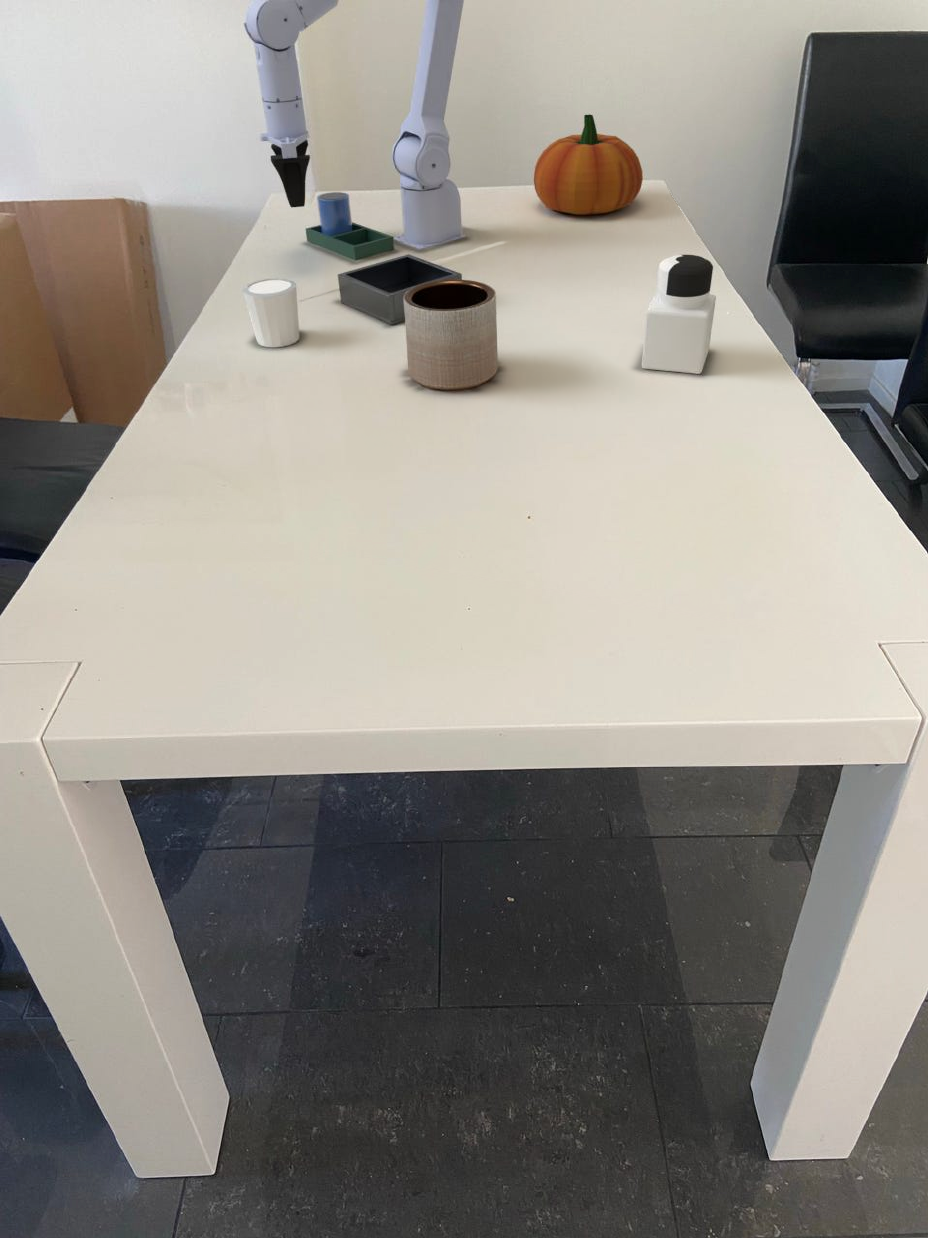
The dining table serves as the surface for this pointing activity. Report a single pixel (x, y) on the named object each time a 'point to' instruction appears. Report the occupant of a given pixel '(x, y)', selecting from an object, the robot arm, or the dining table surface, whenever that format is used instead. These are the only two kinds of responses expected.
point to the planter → (451, 333)
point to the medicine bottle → (680, 316)
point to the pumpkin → (588, 173)
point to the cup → (334, 213)
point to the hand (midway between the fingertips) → (297, 199)
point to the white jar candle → (273, 311)
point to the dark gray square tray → (388, 285)
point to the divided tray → (352, 241)
